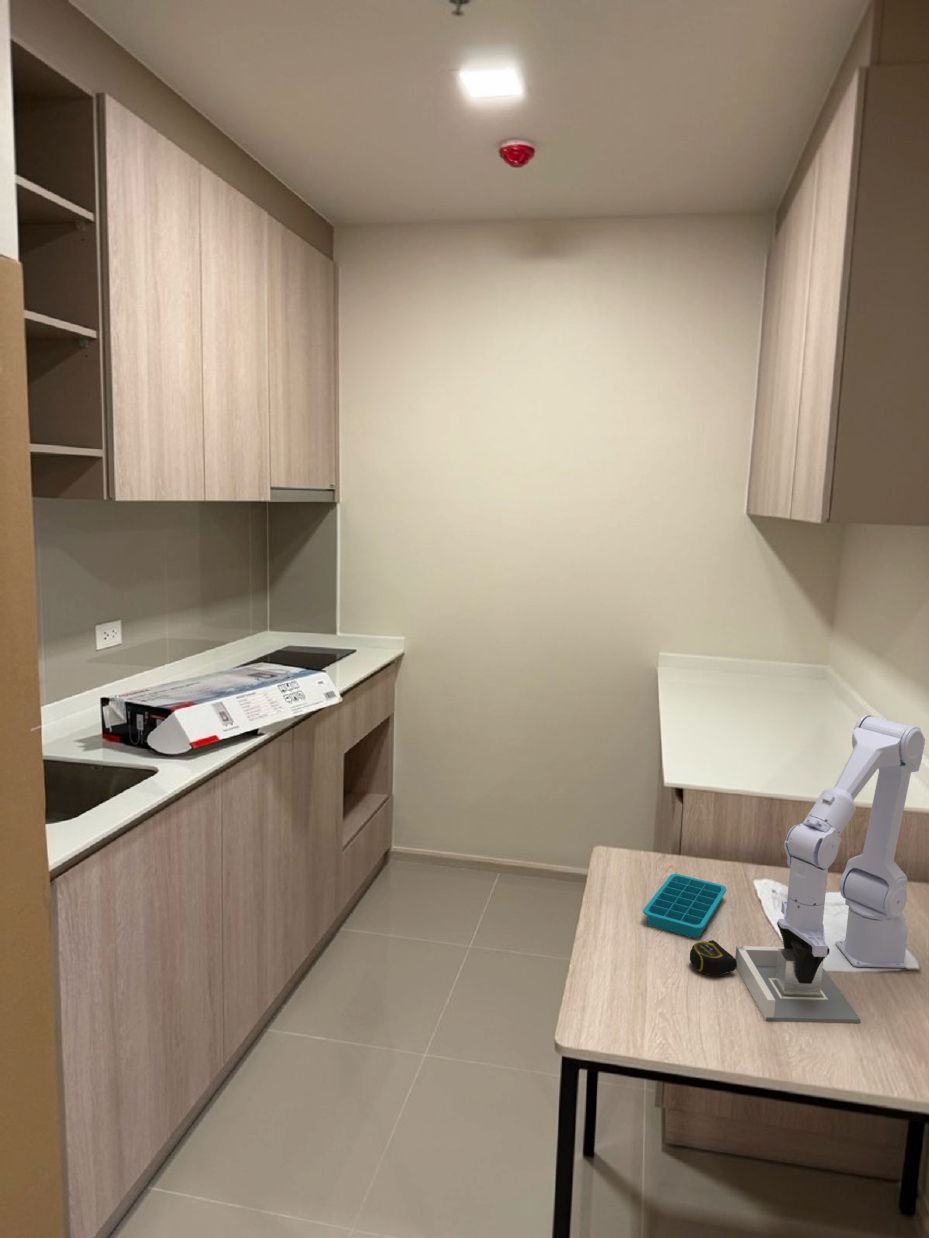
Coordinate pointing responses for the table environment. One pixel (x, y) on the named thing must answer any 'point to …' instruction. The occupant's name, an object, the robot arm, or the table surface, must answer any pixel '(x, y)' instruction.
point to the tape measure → (711, 958)
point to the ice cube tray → (684, 905)
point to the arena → (775, 1006)
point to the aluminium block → (794, 976)
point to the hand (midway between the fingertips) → (798, 973)
